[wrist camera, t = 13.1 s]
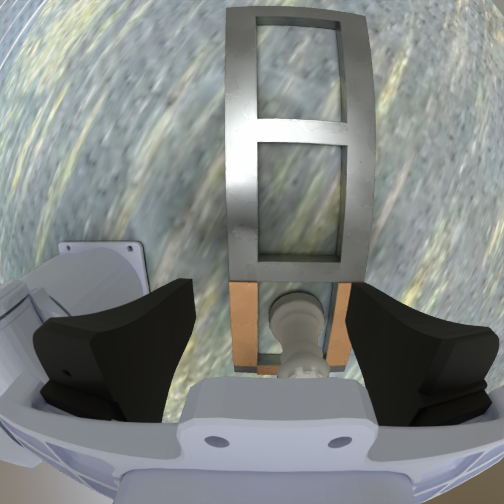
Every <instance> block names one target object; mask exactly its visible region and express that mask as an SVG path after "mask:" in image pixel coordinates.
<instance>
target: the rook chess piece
mask: <svg viewBox="0 0 504 504" xmlns="http://www.w3.org/2000/svg"><path fill="white" fill-rule="evenodd" d="M324 320H325V317H324V311H323V308H322V305H321V303H320V302H319V301H318V300H317V299H316V298H315V297H314V296H311V295H308V294H306V293H291V294H288V295H285V296H282V297H281V298H280V299H278V300H277V301H276V302H275V303H274V304H273V306H272V308H271V310H270V312H269V322H270V329H271V331H272V333H273V335H274V337H275V338H276V339H277V340H278V341H279V342H280V343H281V346H282V349H283V352H282V354H281V357H280V362H281V366H280V367H279V369H278V370H277V378H328V377H329V373H330V367H329V364H328V362H327V361H325V360H324V359H323V352H322V350H321V348H320V347H319V346H318V337H319V336H320V334H321V332H322V330H323V327H324Z"/></svg>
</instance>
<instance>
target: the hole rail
mask: <svg viewBox="0 0 504 504" xmlns="http://www.w3.org/2000/svg"><path fill="white" fill-rule="evenodd" d="M257 25H289V26H306V27H318V28H327V29H335V30H336V36H337V46H338V57H339V70H340V87H341V114H342V123H340V122H329V121H316V120H297V119H258V80H257ZM258 143H293V144H316V145H331V146H342V165H341V194H340V212H339V226H338V239H337V250H336V255H277V254H259V227H258ZM225 153H226V201H227V234H228V260H229V293H230V312H231V330H232V346H233V362H234V371H235V372H245V373H257V375H277V370H278V369H279V367H280V366H281V362H280V357H281V354H258V282H333V287H332V294H331V302H330V309H329V316H328V322H327V329H326V335H325V341H324V346H323V359H324V360H325V361H327V362H328V364H329V367H330V372H343V371H344V370H345V367H346V365H347V362H348V359H349V355H350V351H351V347H352V345H351V343H350V340H349V337H348V333H347V328H346V324H345V318H346V312H347V307H348V301H349V296H350V290H351V283H352V282H364V278H365V271H366V265H367V258H368V250H369V242H370V233H371V224H372V213H373V201H374V185H375V159H376V120H375V95H374V80H373V69H372V59H371V50H370V43H369V36H368V29H367V23H366V17H365V16H362V15H357V14H352V13H346V12H340V11H333V10H326V9H317V8H306V7H290V6H247V7H231V8H226V46H225Z"/></svg>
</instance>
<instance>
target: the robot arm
mask: <svg viewBox="0 0 504 504" xmlns="http://www.w3.org/2000/svg"><path fill="white" fill-rule="evenodd" d="M69 246H70V248H69ZM129 246H131V247H132V248H133V250H131V249H130V247H129ZM58 249H59V253H60V254H59V255H57V256H55V257H53V258H52V259H50V260H48V261H47V262H45V263H43V264H42V265H40V266H38V267H37V268H35V269H33V270H32V271H30V272H29V273H27V274H25V275H24V276H23V277H21V278H20V279H19V280H17V279H11V280H9V281H7V282H5V283H3V284H1V285H0V460H2V461H6V462H9V463H12V464H16V465H21V466H25V467H30V468H34V467H35V466H37V465H38V464H39V463H41V462H42V461H44V462H46V463H48V464H49V465H51V466H52V467H54V468H55V469H57V470H59V471H60V472H62V473H64V474H65V475H67V476H69V477H70V478H72V479H74V480H76V481H78V482H79V483H81V484H83V485H85V486H86V487H88V488H90V489H92V490H94V491H96V492H98V493H100V494H102V495H104V496H106V497H109V498H111V499H113V500H114V501H113V504H420V503H422V502H425V501H427V500H429V499H432V498H434V497H436V496H438V495H440V494H442V493H444V492H446V491H448V490H450V489H452V488H454V487H456V486H458V485H460V484H461V483H463V482H465V481H467V480H468V479H470V478H472V477H474V476H476V475H477V474H479V473H481V472H482V471H484V470H486V469H487V468H489V467H491V466H492V465H494V464H495V463H497V462H498V461H500V460H501V459H502V458H503V457H504V385H503V386H501V387H499V388H497V389H495V390H493V391H491V392H490V393H489V394H488V395H487V393H486V392H485V390H484V389H486V387H487V383H486V381H485V380H484V378H485V376H486V375H487V373H488V371H489V369H490V367H491V366H492V364H493V362H494V360H495V358H496V356H497V353H498V349H499V338H498V336H497V335H496V334H495V333H494V332H493V331H492V330H491V328H489V327H483V326H472V325H465V324H459V323H454V322H450V321H446V320H442V319H439V318H436V317H433V316H430V315H427V314H425V313H422V312H420V311H417V310H415V309H413V308H411V307H409V306H407V305H405V304H403V303H401V302H399V301H397V300H395V299H394V298H392V297H390V296H388V295H387V294H385V293H383V292H382V291H380V290H378V289H377V288H375V287H373V286H371V285H369V284H367V283H364V282H352V283H351V290H350V296H349V301H348V307H347V312H346V318H345V324H346V328H347V333H348V337H349V340H350V343H351V345H352V348H353V351H354V353H355V356H356V359H357V361H358V364H359V367H360V369H361V372H362V375H363V378H364V382H365V387H366V388H365V387H363V386H362V385H361V384H360V383H359V382H358V381H356V380H352V379H344V378H336V377H328V378H250V377H233V376H225V377H215V378H204V379H203V380H201V381H200V382H198V383H197V384H195V385H194V386H192V387H190V390H189V393H188V396H187V399H186V402H185V405H184V408H183V411H182V414H181V417H180V420H179V423H161V422H162V417H163V413H164V408H165V404H166V400H167V396H168V392H169V389H170V385H171V382H172V379H173V375H174V373H175V370H176V368H177V366H178V363H179V361H180V359H181V357H182V354H183V352H184V350H185V348H186V346H187V343H188V341H189V339H190V337H191V334H192V331H193V327H194V324H195V320H196V311H195V302H194V293H193V283H192V279H183V278H179V279H176V280H174V281H172V282H170V283H168V284H166V285H164V286H162V287H160V288H158V289H156V290H155V291H153V292H151V293H150V292H149V286H148V280H147V274H146V268H145V261H144V254H143V247H142V245H141V243H139V242H137V241H98V242H61V243H59V245H58Z"/></svg>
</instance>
